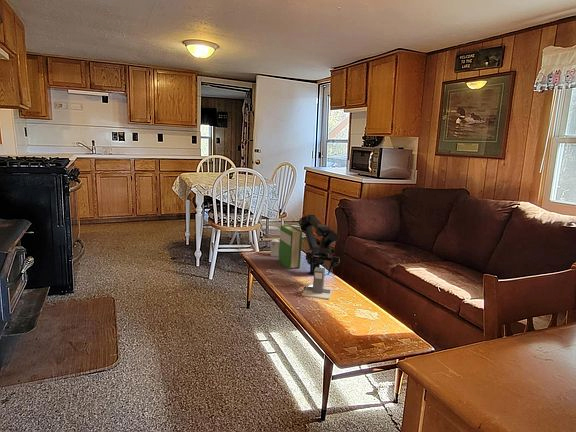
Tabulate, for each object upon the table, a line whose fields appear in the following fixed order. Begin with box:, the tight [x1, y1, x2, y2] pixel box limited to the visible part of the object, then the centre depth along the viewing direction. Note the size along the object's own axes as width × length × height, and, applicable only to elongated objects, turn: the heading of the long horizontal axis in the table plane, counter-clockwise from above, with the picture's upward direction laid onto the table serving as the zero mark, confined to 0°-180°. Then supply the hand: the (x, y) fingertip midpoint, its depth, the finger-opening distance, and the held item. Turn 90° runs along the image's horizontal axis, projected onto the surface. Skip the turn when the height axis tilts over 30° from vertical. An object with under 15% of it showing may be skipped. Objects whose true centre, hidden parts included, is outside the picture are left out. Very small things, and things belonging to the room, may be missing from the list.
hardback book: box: [278, 224, 303, 270], centre depth 248 cm, size 18×7×24 cm, turn 23°
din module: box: [312, 267, 326, 294], centre depth 205 cm, size 6×5×12 cm
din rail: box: [305, 286, 331, 293], centre depth 206 cm, size 2×13×1 cm, turn 77°
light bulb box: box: [270, 238, 280, 258], centre depth 269 cm, size 11×7×11 cm, turn 84°
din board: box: [301, 284, 334, 300], centre depth 207 cm, size 16×14×1 cm
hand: (320, 272), depth 213 cm, fingers open, 9 cm apart
